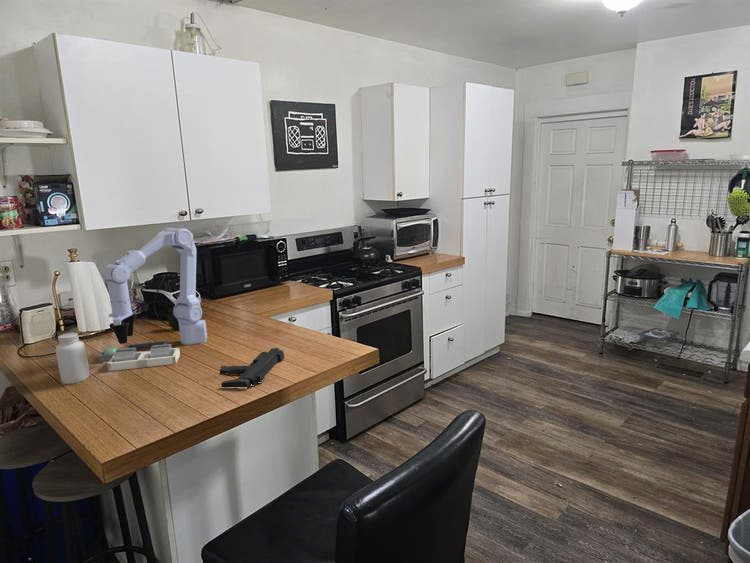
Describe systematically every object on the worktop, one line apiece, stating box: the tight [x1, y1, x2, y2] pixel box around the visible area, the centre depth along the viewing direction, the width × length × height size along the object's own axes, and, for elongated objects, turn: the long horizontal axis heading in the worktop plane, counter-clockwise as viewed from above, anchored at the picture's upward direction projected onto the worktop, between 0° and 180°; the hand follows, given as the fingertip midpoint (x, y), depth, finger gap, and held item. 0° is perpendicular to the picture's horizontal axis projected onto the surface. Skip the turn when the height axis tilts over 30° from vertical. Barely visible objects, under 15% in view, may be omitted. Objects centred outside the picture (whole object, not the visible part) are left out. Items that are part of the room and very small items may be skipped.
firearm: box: [218, 347, 285, 388], centre depth 160 cm, size 3×30×20 cm
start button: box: [103, 346, 118, 355], centre depth 171 cm, size 4×4×3 cm
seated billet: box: [149, 343, 173, 358], centre depth 166 cm, size 4×6×5 cm, turn 103°
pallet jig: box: [106, 347, 181, 372], centre depth 165 cm, size 21×9×4 cm, turn 103°
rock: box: [166, 307, 202, 330], centre depth 203 cm, size 13×4×10 cm, turn 91°
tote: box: [123, 340, 169, 350], centre depth 175 cm, size 14×12×2 cm
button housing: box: [98, 347, 123, 364], centre depth 171 cm, size 6×6×3 cm
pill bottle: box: [55, 331, 91, 385], centre depth 154 cm, size 8×8×15 cm
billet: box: [113, 348, 138, 362], centre depth 164 cm, size 4×6×5 cm, turn 103°
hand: (126, 339), depth 164 cm, fingers open, 7 cm apart
